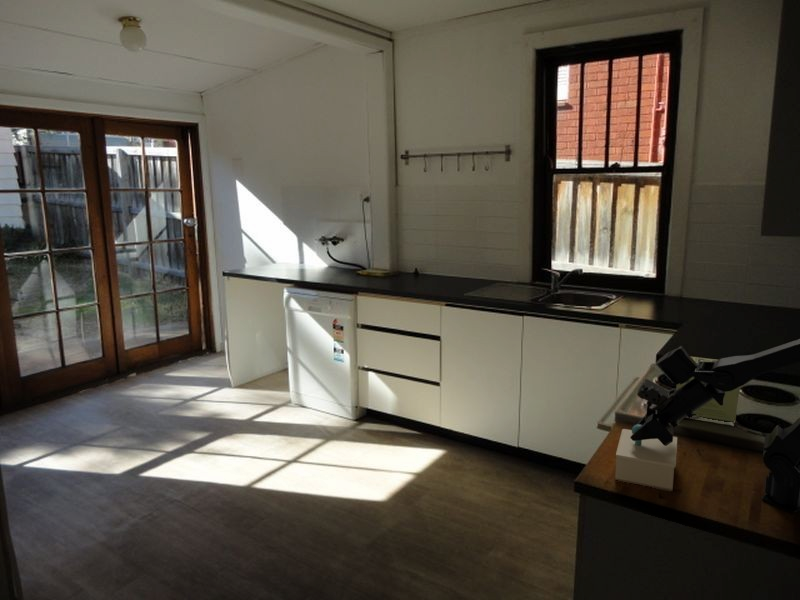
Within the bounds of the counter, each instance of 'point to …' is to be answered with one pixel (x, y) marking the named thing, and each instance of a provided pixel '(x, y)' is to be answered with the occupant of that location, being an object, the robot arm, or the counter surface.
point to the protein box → (712, 407)
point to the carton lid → (646, 449)
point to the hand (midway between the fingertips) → (632, 435)
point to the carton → (645, 473)
